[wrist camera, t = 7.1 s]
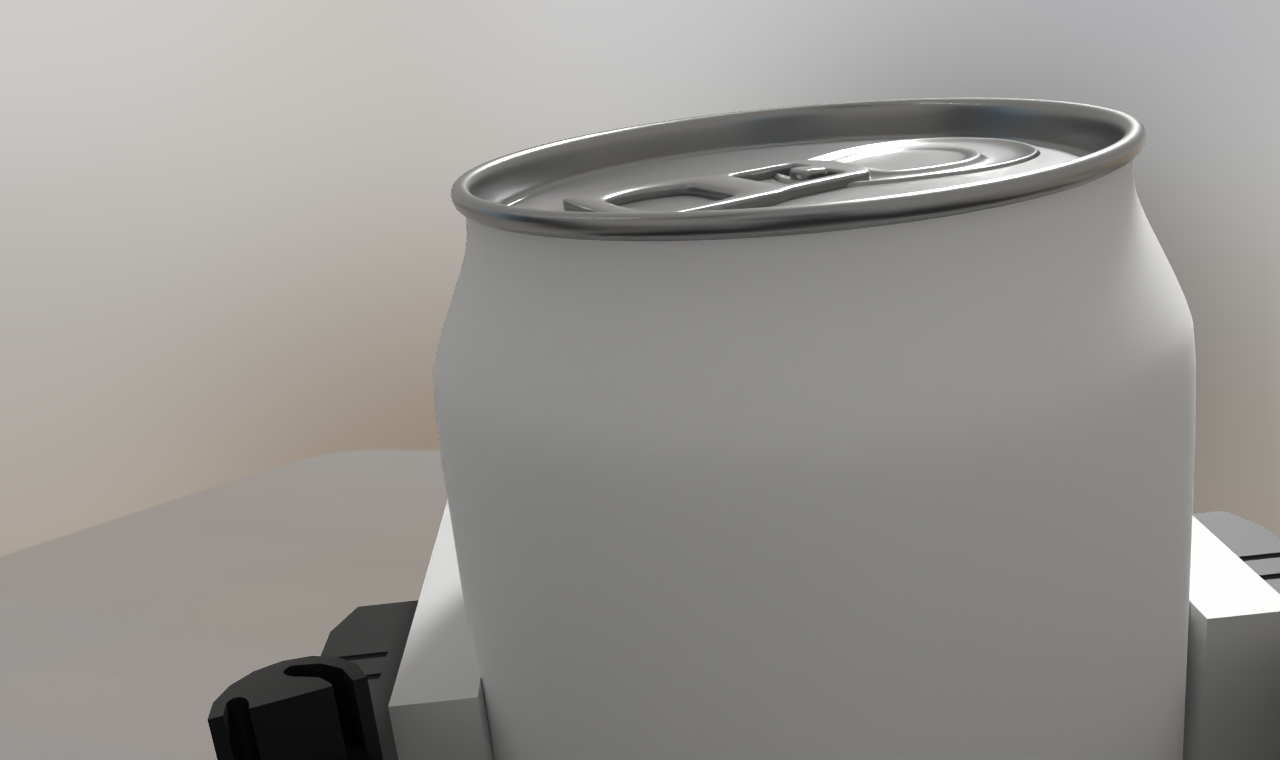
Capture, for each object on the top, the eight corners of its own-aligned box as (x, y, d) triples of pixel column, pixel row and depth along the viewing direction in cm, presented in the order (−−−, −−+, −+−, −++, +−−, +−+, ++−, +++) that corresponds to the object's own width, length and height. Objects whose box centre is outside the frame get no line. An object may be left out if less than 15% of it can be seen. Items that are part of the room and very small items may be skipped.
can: (1301, 1296, 12) (1414, 107, 9) (764, 1717, 10) (596, 288, 6) (901, 909, 18) (866, 83, 14) (492, 1112, 15) (316, 170, 12)
